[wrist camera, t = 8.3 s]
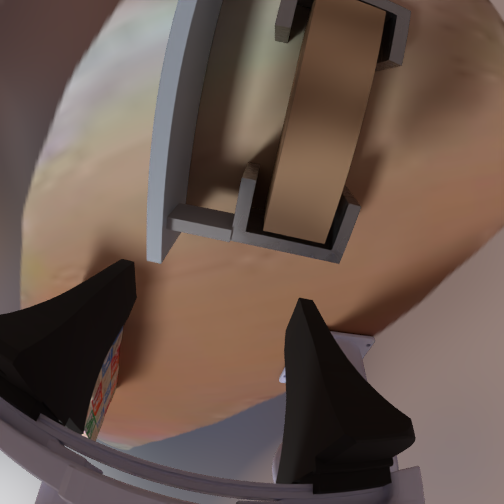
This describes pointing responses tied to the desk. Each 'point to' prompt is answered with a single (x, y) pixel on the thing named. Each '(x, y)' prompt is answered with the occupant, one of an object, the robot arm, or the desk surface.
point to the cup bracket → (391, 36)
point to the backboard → (181, 133)
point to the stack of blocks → (103, 391)
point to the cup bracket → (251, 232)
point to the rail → (323, 117)
